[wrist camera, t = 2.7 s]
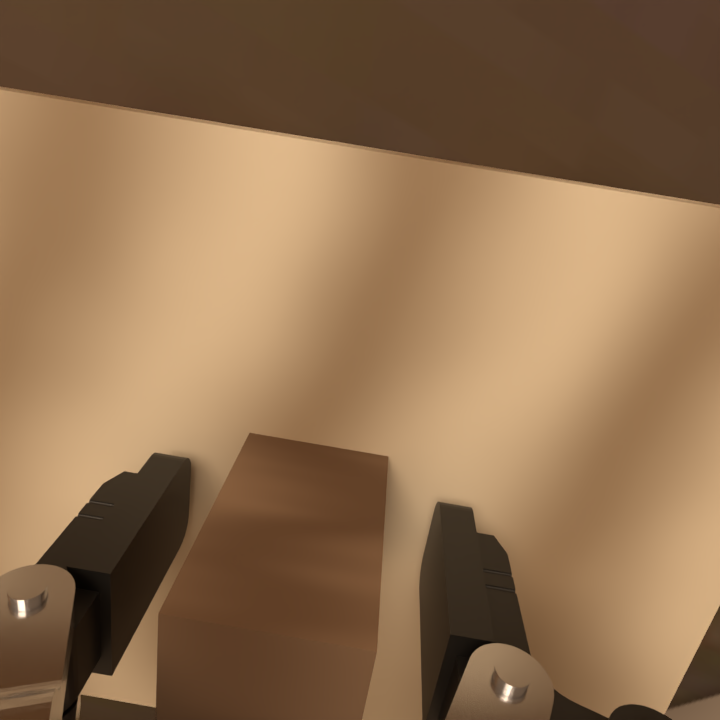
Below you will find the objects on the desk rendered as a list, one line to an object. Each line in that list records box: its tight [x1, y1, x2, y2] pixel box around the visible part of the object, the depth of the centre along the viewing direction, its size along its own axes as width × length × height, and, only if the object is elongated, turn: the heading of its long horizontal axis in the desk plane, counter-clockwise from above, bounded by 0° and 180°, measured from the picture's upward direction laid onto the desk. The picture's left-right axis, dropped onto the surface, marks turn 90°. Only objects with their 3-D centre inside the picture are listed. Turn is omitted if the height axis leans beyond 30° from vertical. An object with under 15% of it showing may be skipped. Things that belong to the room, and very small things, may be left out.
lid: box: [0, 87, 720, 720], centre depth 11 cm, size 19×15×6 cm
